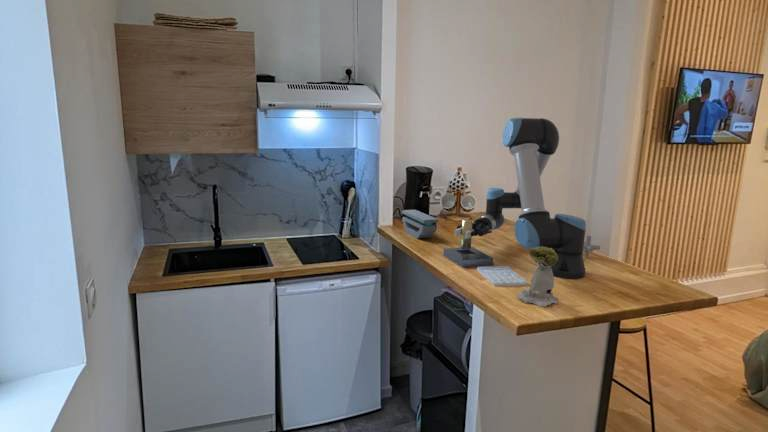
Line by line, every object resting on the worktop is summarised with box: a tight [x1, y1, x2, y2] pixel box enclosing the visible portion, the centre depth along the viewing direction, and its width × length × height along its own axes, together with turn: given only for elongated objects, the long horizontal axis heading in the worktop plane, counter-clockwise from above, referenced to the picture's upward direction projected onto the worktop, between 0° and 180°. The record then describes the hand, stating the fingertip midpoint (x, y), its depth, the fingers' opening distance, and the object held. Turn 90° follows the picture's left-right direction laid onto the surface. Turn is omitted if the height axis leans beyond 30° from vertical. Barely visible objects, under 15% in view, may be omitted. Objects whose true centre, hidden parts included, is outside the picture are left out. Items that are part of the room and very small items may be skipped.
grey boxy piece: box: [401, 209, 439, 240], centre depth 245 cm, size 25×8×11 cm, turn 23°
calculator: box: [476, 265, 529, 287], centre depth 186 cm, size 13×20×2 cm, turn 8°
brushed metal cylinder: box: [459, 218, 474, 249], centre depth 206 cm, size 4×4×12 cm
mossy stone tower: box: [517, 247, 559, 307], centre depth 162 cm, size 12×13×18 cm
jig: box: [443, 246, 495, 268], centre depth 206 cm, size 18×14×3 cm
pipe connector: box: [583, 235, 601, 259], centre depth 214 cm, size 10×10×10 cm
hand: (460, 234), depth 202 cm, fingers closed on brushed metal cylinder, 4 cm apart
